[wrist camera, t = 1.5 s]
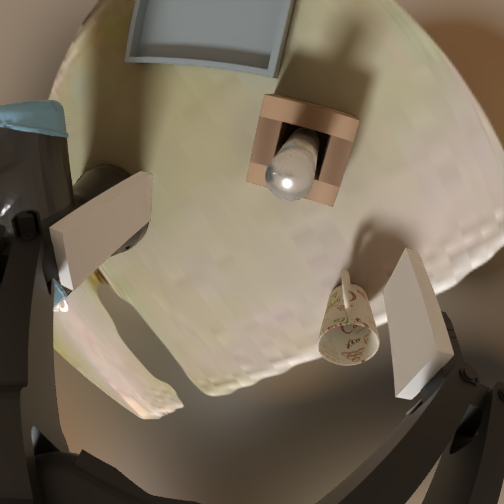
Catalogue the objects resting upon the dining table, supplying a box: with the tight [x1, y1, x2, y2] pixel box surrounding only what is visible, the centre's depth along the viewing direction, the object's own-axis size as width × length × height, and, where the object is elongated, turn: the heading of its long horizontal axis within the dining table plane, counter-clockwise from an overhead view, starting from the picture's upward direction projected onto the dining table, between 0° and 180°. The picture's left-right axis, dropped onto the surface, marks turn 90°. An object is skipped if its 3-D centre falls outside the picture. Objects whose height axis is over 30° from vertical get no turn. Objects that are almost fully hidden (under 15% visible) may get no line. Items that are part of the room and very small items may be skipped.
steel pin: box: [265, 128, 319, 201], centre depth 28 cm, size 4×4×16 cm
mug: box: [318, 268, 379, 365], centre depth 40 cm, size 8×13×10 cm, turn 18°
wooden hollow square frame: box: [246, 94, 360, 207], centre depth 33 cm, size 10×10×6 cm
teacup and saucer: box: [53, 300, 68, 312], centre depth 65 cm, size 9×8×4 cm
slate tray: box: [124, 0, 295, 78], centre depth 28 cm, size 20×14×3 cm
